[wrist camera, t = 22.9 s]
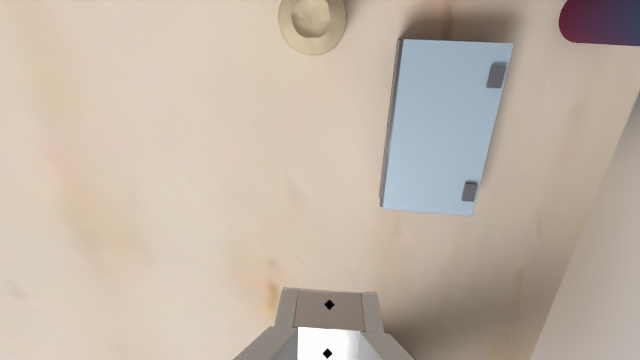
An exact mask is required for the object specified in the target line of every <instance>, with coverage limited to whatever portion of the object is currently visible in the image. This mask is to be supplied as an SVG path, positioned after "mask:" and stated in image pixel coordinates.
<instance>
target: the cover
mask: <svg viewBox="0 0 640 360" xmlns="http://www.w3.org/2000/svg"><path fill="white" fill-rule="evenodd" d="M513 46H514V43H492V42H465V41H439V40H413V39H400V41H399V49H398V58H397V66H396V74H395V83H394V91H393V99H392V108H391V116H390V124H389V133H388V141H387V149H386V158H385V166H384V174H383V182H382V191H381V199H380V207H383V209H389V210H401V211H414V212H426V213H438V214H450V215H462V216H472V215H473V211H474V207H475V203H476V199H477V194H478V190H479V186H480V182H481V178H482V174H483V170H484V166H485V161H486V157H487V153H488V149H489V145H490V141H491V137H492V133H493V128H494V124H495V120H496V116H497V112H498V108H499V104H500V100H501V95H502V91H503V87H504V83H505V79H506V75H507V71H508V67H509V62H510V58H511V54H512V50H513Z"/></svg>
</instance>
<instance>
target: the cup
mask: <svg viewBox="0 0 640 360" xmlns="http://www.w3.org/2000/svg"><path fill="white" fill-rule="evenodd" d="M559 28H560V31H561V33H562V35H563V36H564V37H565V38H566V39H567V40H569V41H571V42H576V43H592V44H610V45H627V46H640V0H568V1H567V2H566V4H565V5H564V7H563V9H562V11H561V14H560V18H559Z"/></svg>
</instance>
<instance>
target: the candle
mask: <svg viewBox="0 0 640 360" xmlns="http://www.w3.org/2000/svg"><path fill="white" fill-rule="evenodd" d="M346 21H347V14H346V8H345V5H344V2H343V0H282V1H281V4H280V7H279V13H278V22H279V28H280V31H281V33H282V36H283V38H284V39H285V41H286V42H287V43H288V45H289V46H290V47H291V48H293V49H294V50H295V51H297V52H299V53H301V54H304V55H309V56H316V55H322V54H325V53H327V52H329V51H331V50H332V49H333V48H335V47H336V45H337V44H338V43H339V41H340V40H341V38H342V36H343V34H344V31H345V27H346Z"/></svg>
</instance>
